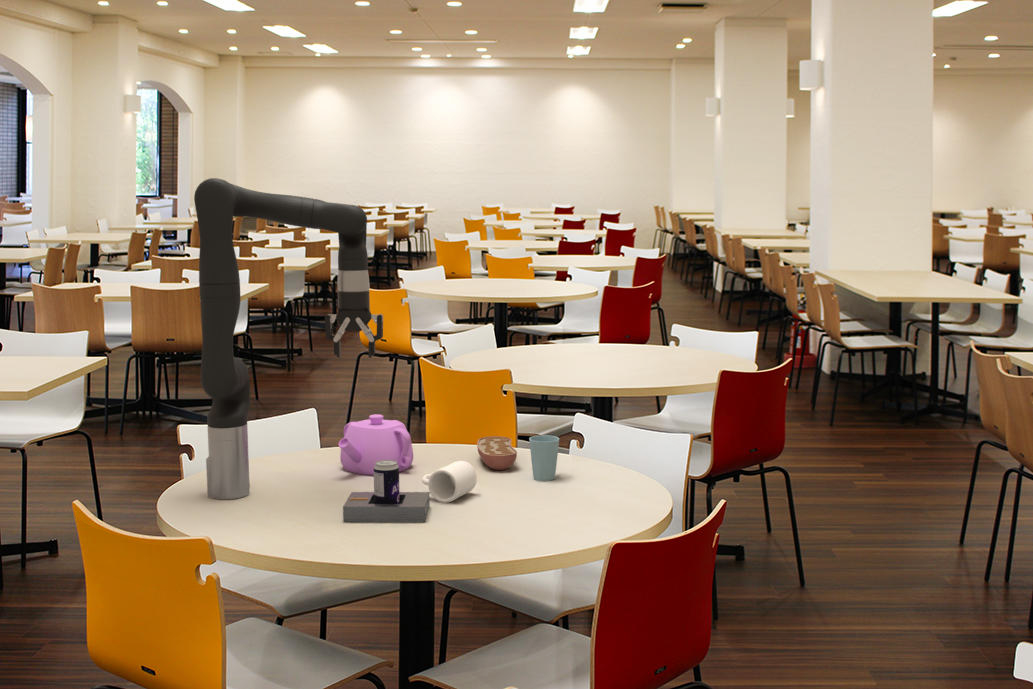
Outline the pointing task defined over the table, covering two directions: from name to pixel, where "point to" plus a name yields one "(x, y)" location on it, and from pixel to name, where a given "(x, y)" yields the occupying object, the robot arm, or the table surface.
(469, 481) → the mug
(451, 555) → the table surface
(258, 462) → the table surface
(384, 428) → the teapot
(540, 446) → the cup
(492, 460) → the anatomical model
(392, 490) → the beverage can
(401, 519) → the jig
